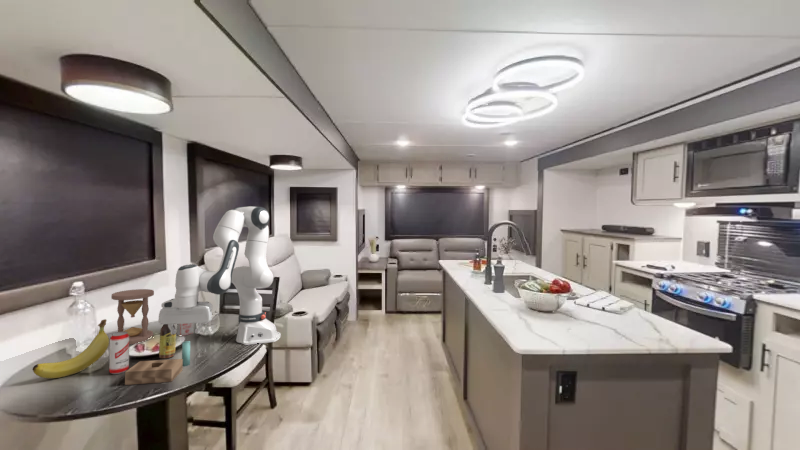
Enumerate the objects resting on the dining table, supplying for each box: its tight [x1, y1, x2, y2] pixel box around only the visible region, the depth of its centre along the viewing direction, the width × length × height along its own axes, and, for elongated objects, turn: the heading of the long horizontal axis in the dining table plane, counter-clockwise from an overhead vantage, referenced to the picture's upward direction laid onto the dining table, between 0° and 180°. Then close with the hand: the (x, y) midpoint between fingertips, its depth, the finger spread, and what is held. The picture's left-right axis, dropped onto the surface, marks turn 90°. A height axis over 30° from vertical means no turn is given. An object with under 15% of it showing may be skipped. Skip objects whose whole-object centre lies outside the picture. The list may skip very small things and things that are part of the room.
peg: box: [181, 340, 191, 367], centre depth 147 cm, size 3×3×10 cm
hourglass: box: [111, 288, 155, 346], centre depth 176 cm, size 18×18×25 cm
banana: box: [32, 318, 110, 379], centre depth 136 cm, size 23×6×20 cm, turn 147°
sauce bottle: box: [158, 324, 177, 360], centre depth 155 cm, size 7×6×20 cm
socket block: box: [124, 358, 184, 386], centre depth 134 cm, size 16×10×5 cm, turn 102°
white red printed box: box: [176, 323, 194, 337], centre depth 185 cm, size 4×7×10 cm, turn 148°
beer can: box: [108, 331, 130, 375], centre depth 139 cm, size 6×6×16 cm
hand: (185, 333), depth 146 cm, fingers open, 8 cm apart
